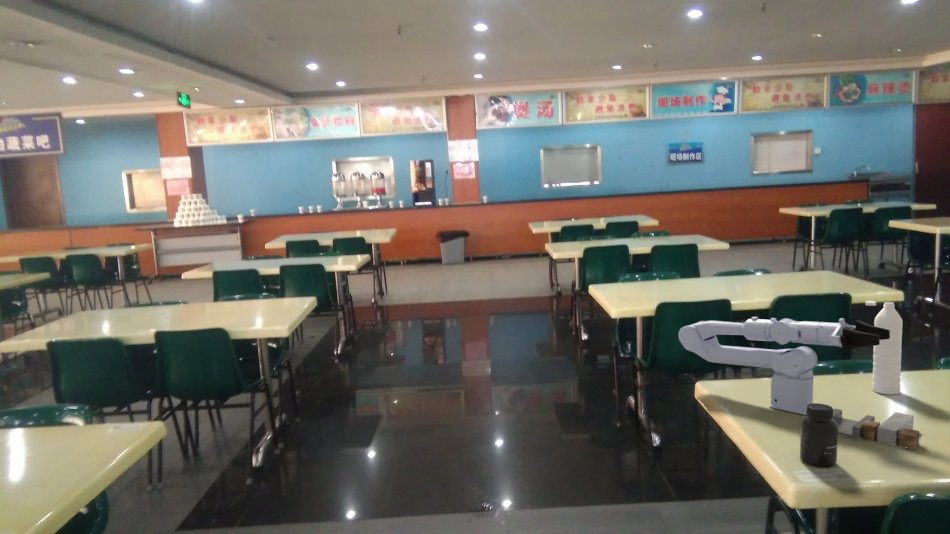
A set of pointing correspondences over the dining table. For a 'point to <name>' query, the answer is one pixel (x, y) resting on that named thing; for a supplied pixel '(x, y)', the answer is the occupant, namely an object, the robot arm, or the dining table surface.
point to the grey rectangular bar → (894, 428)
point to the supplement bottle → (819, 436)
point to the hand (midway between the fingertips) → (884, 337)
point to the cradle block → (850, 425)
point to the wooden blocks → (907, 436)
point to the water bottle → (887, 351)
